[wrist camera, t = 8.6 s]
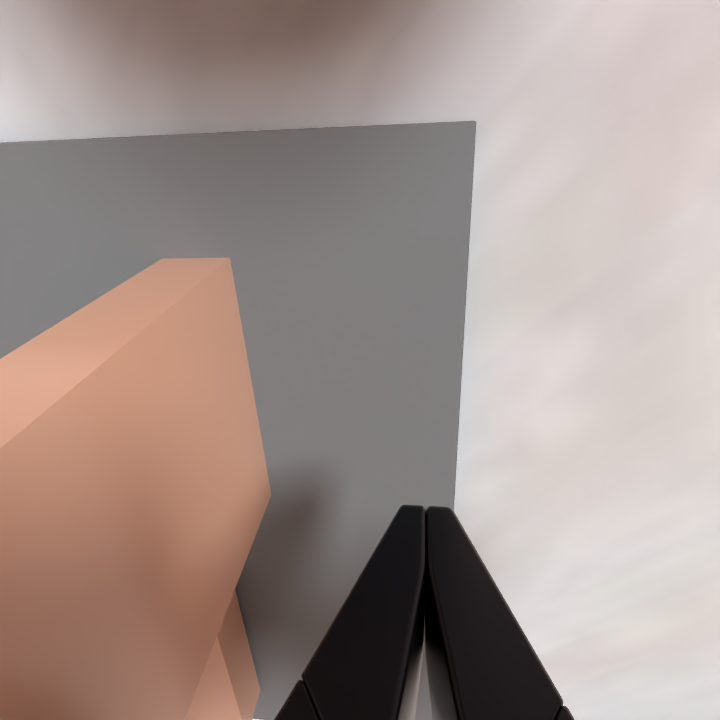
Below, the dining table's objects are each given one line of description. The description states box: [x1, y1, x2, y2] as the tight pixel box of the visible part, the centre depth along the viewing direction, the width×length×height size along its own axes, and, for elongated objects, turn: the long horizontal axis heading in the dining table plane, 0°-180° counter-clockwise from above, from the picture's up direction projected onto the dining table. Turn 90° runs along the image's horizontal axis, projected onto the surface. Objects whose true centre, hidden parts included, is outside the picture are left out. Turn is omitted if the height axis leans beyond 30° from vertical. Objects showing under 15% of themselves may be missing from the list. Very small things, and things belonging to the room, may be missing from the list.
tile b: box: [0, 258, 271, 720], centre depth 9 cm, size 7×2×8 cm, turn 3°
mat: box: [0, 121, 476, 720], centre depth 16 cm, size 22×18×1 cm
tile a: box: [185, 590, 260, 720], centre depth 17 cm, size 7×2×8 cm
